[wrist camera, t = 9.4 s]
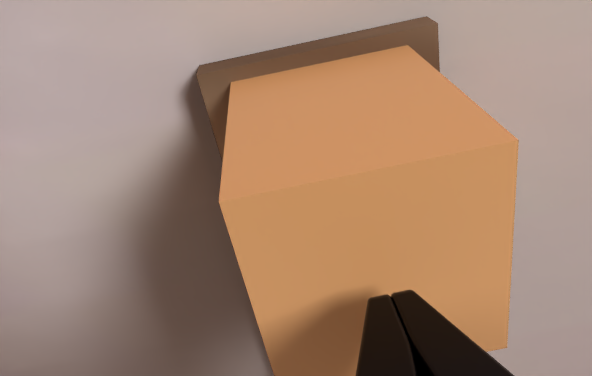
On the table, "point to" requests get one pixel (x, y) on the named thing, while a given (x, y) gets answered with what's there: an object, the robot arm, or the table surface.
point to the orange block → (365, 204)
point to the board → (309, 61)
